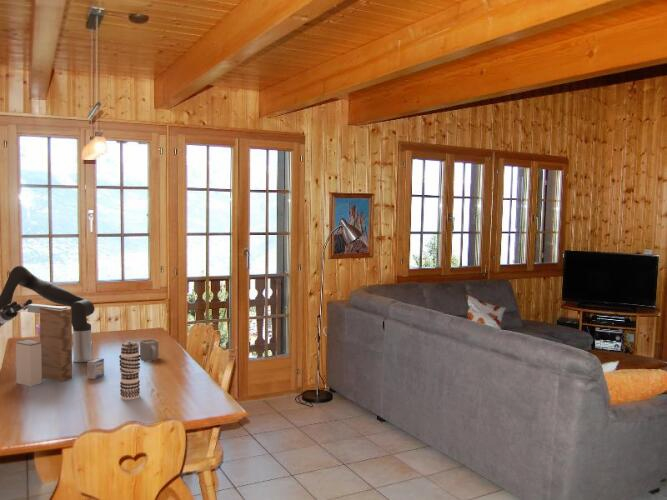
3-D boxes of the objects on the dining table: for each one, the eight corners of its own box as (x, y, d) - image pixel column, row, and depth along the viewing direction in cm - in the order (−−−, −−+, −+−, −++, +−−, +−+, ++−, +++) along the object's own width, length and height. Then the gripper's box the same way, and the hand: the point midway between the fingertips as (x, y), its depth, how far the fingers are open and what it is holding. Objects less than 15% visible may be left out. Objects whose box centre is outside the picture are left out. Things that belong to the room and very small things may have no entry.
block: (27, 379, 296) (27, 339, 295) (41, 383, 292) (41, 342, 290) (16, 383, 291) (15, 342, 289) (30, 386, 287) (30, 344, 285)
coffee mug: (138, 357, 344) (138, 339, 343) (157, 355, 348) (157, 338, 347) (142, 363, 331) (142, 345, 331) (160, 361, 336) (160, 343, 335)
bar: (33, 310, 306) (33, 303, 305) (67, 314, 299) (66, 307, 298) (27, 311, 302) (27, 304, 302) (61, 315, 295) (61, 308, 295)
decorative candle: (128, 401, 269) (128, 345, 267) (114, 397, 274) (114, 342, 272) (144, 395, 277) (144, 342, 275) (131, 392, 282) (131, 339, 280)
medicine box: (95, 379, 300) (95, 362, 299) (87, 378, 301) (86, 361, 300) (104, 375, 308) (104, 358, 307) (96, 374, 309) (96, 357, 308)
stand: (52, 373, 307) (51, 305, 304) (72, 378, 301) (71, 308, 298) (40, 377, 301) (39, 307, 298) (60, 381, 295) (59, 310, 292)
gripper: (-9, 309, 313) (8, 296, 306) (16, 305, 326) (33, 293, 319) (-5, 322, 312) (13, 310, 305) (21, 318, 325) (38, 306, 318)
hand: (23, 301), depth 312 cm, fingers open, 8 cm apart
